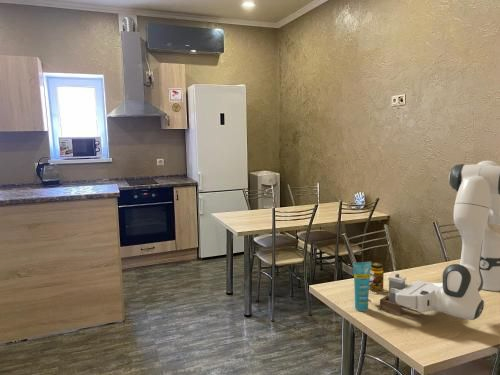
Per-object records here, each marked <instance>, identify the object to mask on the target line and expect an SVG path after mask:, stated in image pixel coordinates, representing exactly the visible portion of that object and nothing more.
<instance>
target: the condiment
mask: <svg viewBox="0 0 500 375" xmlns="http://www.w3.org/2000/svg"><path fill="white" fill-rule="evenodd" d="M383 269H384V268H383V264H382V263H380V262H371V270H370V271H371V272H373V273H374V274H373V276H374V281H373V282H372V283H371V284H370V285H369V290H370V291H372V292H371V293H373V294H374V295H377V294H382V293H385V292H388V290H387V289H385V288H384V280H385V278H384V270H383ZM370 291H369V292H370ZM375 292H376V293H375Z"/></svg>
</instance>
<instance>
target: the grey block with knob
mask: <svg viewBox="0 0 500 375" xmlns="http://www.w3.org/2000/svg"><path fill="white" fill-rule="evenodd" d="M387 279H388V294H389V301H391V302H394V303H396V294H395V293H391V288H392V287H394V288H397V289H398V290H402V289H404V288H405V284H406V280H407V276H403V275H400V274H399V273H393V274H392V275H390V276H388V278H387Z"/></svg>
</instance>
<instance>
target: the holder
mask: <svg viewBox="0 0 500 375" xmlns="http://www.w3.org/2000/svg"><path fill="white" fill-rule="evenodd" d="M402 309H406V310H410V309H411V308H408V307H405V306H402V305H399V304H398V303H394V302H391V301H389V293H388V294H387V295H385V296H383V297H382V298H380V299H379V310H380V311H385V312H386V313H391V314H393V315H397V316H402V314H403V313H402V312H403V311H402Z"/></svg>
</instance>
